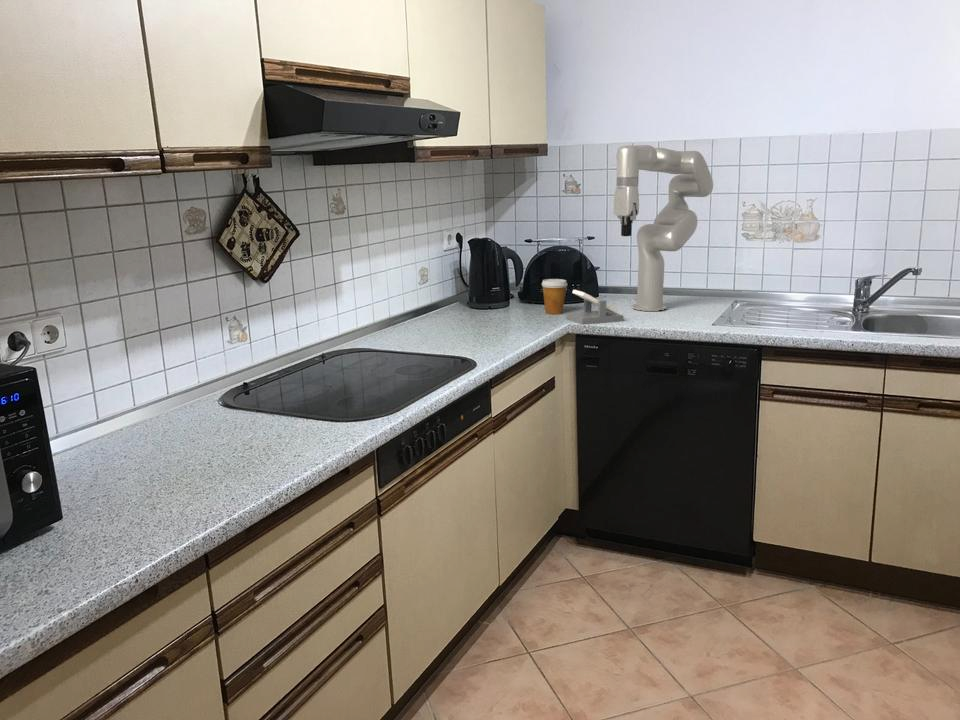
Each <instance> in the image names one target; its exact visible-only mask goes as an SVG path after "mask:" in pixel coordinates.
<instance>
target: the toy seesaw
mask: <svg viewBox="0 0 960 720" xmlns="http://www.w3.org/2000/svg"><path fill="white" fill-rule="evenodd" d="M606 304H607V300H605V299H603V300H599V301H598V306H597V307H598V309H597V310H592V305H593V303H591V302H589V301H587V300H585V299H583V311H576V312H575V311H574V312H566V315H565V318H566V320H569V321H572V322H575V323H578V324H580V325H590V324H603V323H614V322H616V323H617V322H624V315H623V314H621V313H620V314H619V313H618V312H617V313H614V312H611V311H608V310H606Z"/></svg>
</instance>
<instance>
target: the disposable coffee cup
mask: <svg viewBox="0 0 960 720" xmlns="http://www.w3.org/2000/svg"><path fill="white" fill-rule="evenodd" d="M541 286H542V291H543V292H542V293H543V301H544V302H543V303H544V310H545V311H544V312H545V314H547V315H562V314H563V312H564V307H565V299H566V298H565V297H566V292H567V287H568V282H567V280H566V279H561V278H547V279H542V282H541Z"/></svg>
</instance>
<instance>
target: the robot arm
mask: <svg viewBox="0 0 960 720" xmlns="http://www.w3.org/2000/svg"><path fill="white" fill-rule="evenodd" d="M615 159H616V185H615V186H616V187H615V190H614V198H613V214H614V215H615V216H617V219H619V220H620V225H621V229H620V233H621V234H620V236H621V237H631V236H632V228H633V227H632V226H633V223H634V222H633V221H636V220H637V217H638V215H639V214H640V213H639V211H640V196H639V195H640V194H639V193H640V192H639V171H648V172H654V173H655V172H657V173H658V172H659V173H665V174H670V175H675V176H673V177H672V178H671V179H670V181H669V183H668V202H667V204H666V205H665V206H664V207H663V208H662V209H661V210H660V212H658V214H656V216H655V218H654V220H653V223H646V224H644V225H642V226H640V227H639V228H638V230H637V233H636V244H637V249H638V250H637V251H638V268H637V292H636V296H634V297H633V300H634V301H636V303H634V304H632V307H631V308H632V309H633V310H635V309H636V310H637V311H640V310H641V312H642V311H643V312H660V311H659V310H663V311H665V310H664V309H666V310H667V305H665V304H663V301H664V299H663V298H664V282H665V281H664V280H665V278H664V277H665V260H664V259H665V258H664V256H663V254H662V252H677V251H679V250H681V249H682V248H683V247H684V245H685V244H687V242H688V241H689V240H690V239H691V237H692V236H693V235H694V233H695V232H696V230H697V227H698V216H697V214H696V213H695V211H693V210H691V209H690V208H689V206H688V203H687V201H686V200H685V198H704V197H705V198H706V197H708V196H709V195H711V194H712V192H713V189H714V180H713V176H712V174H711V171H710V169H709V167H708V163H707V161H706V159H705V158H704V155H702V153H701V152H699V151H697V150H683V151H682V150H675V149H669V148H664V147H654V146H652V145H648V144H647V145H646V144H642V145H641V144H640V145H639V144H638V145H636V144H635V145H622V146H619V147H618V148H617V151H616V158H615Z"/></svg>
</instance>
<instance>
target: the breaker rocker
mask: <svg viewBox="0 0 960 720" xmlns="http://www.w3.org/2000/svg"><path fill="white" fill-rule="evenodd" d="M572 294H574V295H575V296H578V297H580V298H581V299H583V300H584V299H585V300H587V301H589V302H591V303H592V305H593V304H594V305H595V306H597V307H598V301H600V300H599V299H598V298H596V297H594V296H593V295H590V294H589V293H586V292H585V291H581V290H579V289H578V290H577V289H573V290H572ZM606 310H608V311H611V312H614V313H617V314H618V311H619V309H618V308H615V307H613V306H612V305H611V304H608V303H606Z"/></svg>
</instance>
